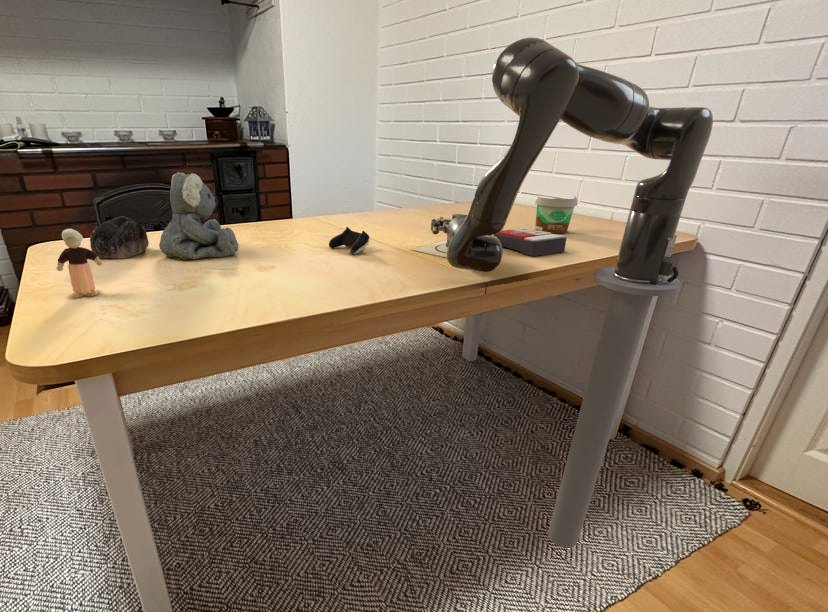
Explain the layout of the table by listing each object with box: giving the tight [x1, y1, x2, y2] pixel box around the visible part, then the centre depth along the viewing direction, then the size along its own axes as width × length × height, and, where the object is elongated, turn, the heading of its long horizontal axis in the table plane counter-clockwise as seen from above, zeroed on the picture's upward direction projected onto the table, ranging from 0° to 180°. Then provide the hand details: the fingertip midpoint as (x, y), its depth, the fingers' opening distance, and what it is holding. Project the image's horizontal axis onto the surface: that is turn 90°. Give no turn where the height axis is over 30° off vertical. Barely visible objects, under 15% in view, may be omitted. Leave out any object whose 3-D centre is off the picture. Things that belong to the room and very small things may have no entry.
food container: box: [534, 195, 578, 235], centre depth 137 cm, size 12×6×10 cm, turn 95°
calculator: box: [493, 227, 567, 257], centre depth 122 cm, size 11×4×15 cm
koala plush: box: [158, 171, 239, 260], centre depth 115 cm, size 17×18×20 cm
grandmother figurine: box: [56, 228, 104, 299], centre depth 88 cm, size 8×4×13 cm, turn 126°
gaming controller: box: [328, 226, 371, 255], centre depth 121 cm, size 11×4×7 cm
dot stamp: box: [446, 213, 464, 247], centre depth 121 cm, size 5×5×8 cm
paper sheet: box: [412, 239, 448, 259], centre depth 121 cm, size 16×16×1 cm
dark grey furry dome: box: [89, 215, 150, 259], centre depth 118 cm, size 13×14×10 cm
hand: (457, 221), depth 122 cm, fingers open, 8 cm apart
